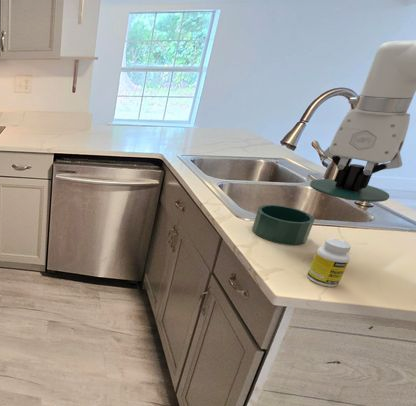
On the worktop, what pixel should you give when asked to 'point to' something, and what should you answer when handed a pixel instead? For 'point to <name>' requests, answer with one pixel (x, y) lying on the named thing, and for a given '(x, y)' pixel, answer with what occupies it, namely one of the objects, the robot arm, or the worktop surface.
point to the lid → (350, 187)
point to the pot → (282, 224)
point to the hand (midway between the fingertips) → (348, 187)
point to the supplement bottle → (329, 263)
